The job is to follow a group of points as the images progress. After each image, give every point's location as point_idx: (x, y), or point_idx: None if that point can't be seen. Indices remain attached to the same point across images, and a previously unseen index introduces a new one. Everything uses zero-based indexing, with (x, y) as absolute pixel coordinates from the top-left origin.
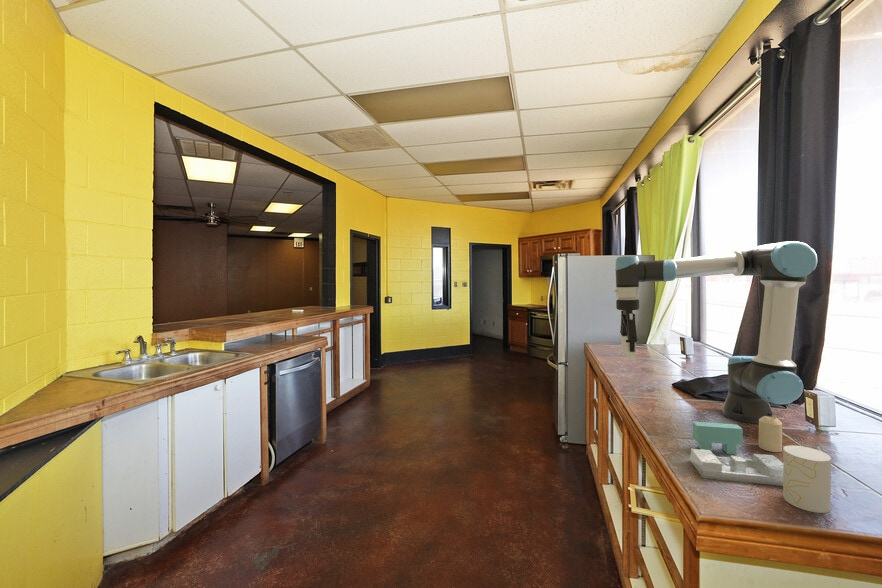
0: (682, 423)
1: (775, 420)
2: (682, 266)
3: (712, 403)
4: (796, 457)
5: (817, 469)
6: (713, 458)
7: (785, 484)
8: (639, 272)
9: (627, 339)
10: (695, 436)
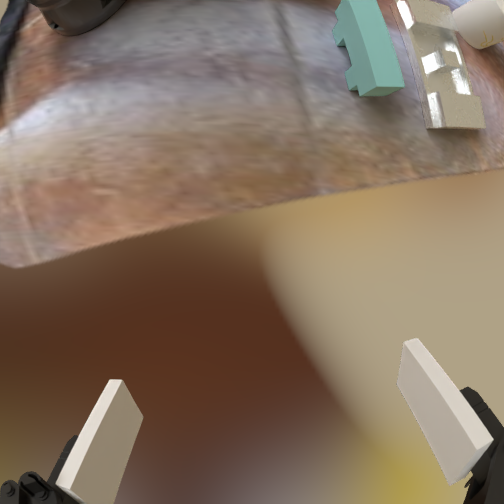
0: (184, 104)
1: None
2: None
3: (23, 66)
4: None
5: None
6: (468, 101)
7: (490, 43)
8: None
9: (89, 475)
10: (382, 94)
